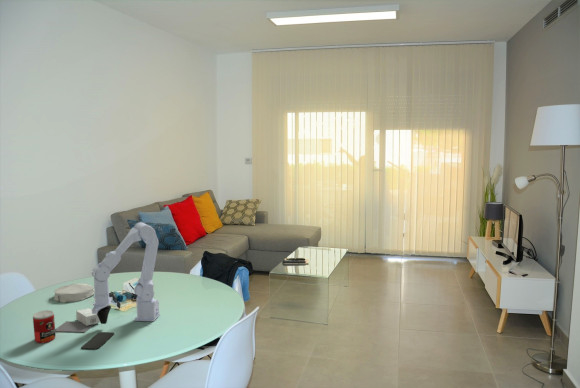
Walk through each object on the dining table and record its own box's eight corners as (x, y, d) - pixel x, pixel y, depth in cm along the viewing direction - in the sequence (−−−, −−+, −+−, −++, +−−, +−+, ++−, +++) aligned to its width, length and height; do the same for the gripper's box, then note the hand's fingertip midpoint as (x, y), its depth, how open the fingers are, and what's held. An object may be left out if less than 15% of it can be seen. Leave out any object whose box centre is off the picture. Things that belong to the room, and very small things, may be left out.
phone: (115, 332, 193) (97, 348, 178) (115, 334, 193) (97, 350, 178) (99, 331, 194) (79, 347, 179) (99, 333, 194) (79, 349, 179)
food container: (44, 300, 233) (43, 287, 232) (76, 287, 251) (75, 275, 250) (73, 306, 226) (72, 293, 224) (103, 292, 244) (102, 280, 243)
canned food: (41, 345, 182) (39, 319, 181) (30, 340, 187) (28, 315, 185) (59, 337, 189) (57, 312, 187) (48, 333, 193) (46, 308, 192)
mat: (96, 322, 204) (96, 322, 203) (84, 332, 194) (84, 331, 194) (66, 322, 205) (66, 321, 205) (53, 331, 195) (53, 330, 195)
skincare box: (86, 316, 198) (75, 309, 206) (86, 326, 198) (75, 319, 207) (100, 313, 203) (89, 306, 211) (100, 323, 203) (89, 316, 211)
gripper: (101, 287, 203) (103, 316, 205) (84, 299, 189) (86, 330, 191) (116, 287, 203) (118, 316, 205) (100, 299, 189) (102, 330, 190)
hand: (103, 323), depth 198 cm, fingers closed
